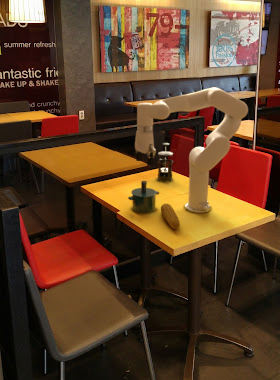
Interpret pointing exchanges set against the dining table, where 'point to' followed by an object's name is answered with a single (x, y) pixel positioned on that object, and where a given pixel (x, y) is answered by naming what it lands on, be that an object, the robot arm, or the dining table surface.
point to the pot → (143, 203)
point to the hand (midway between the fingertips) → (144, 163)
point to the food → (170, 215)
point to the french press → (165, 173)
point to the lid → (143, 191)
